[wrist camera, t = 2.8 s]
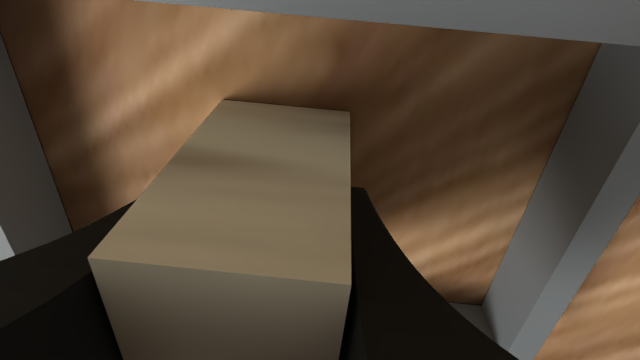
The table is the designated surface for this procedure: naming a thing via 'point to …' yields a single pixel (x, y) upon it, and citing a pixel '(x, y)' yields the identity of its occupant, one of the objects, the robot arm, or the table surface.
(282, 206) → the birch block
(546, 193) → the gray rectangular frame
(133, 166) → the table surface
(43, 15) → the table surface
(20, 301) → the robot arm
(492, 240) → the table surface
